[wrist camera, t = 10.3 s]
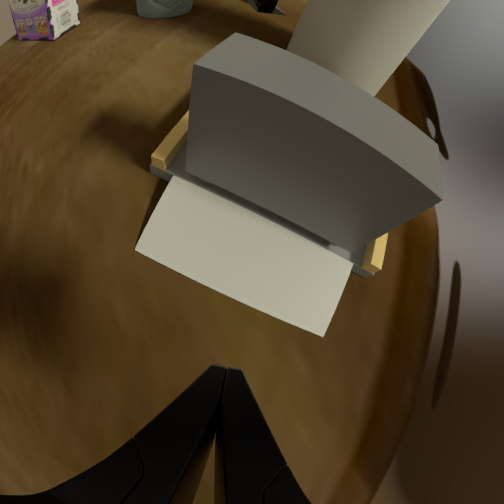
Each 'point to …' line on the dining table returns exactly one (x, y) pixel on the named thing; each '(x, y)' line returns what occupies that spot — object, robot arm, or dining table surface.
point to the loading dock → (247, 245)
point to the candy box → (43, 18)
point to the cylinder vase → (362, 36)
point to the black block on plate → (266, 6)
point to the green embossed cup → (163, 8)
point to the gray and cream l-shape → (306, 144)
